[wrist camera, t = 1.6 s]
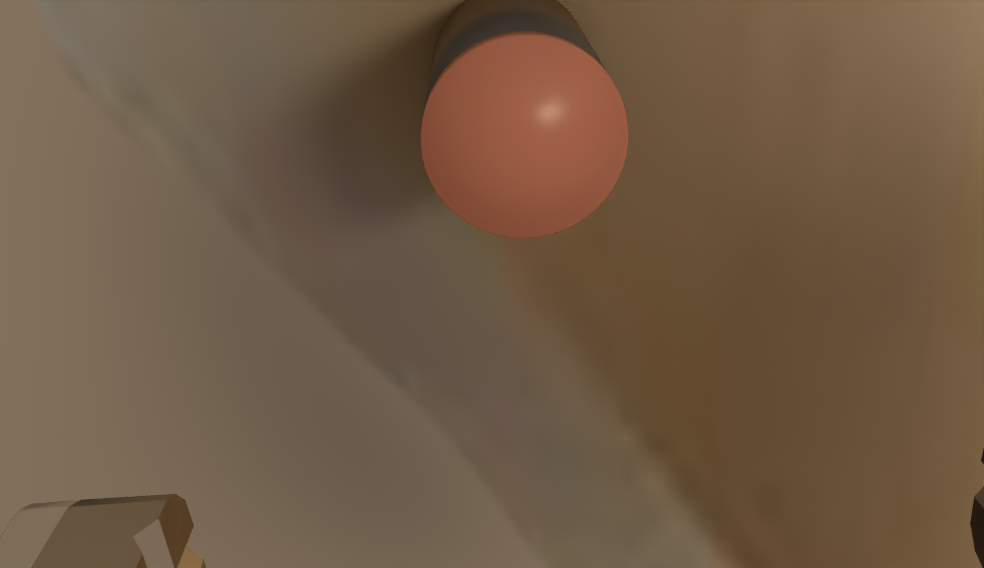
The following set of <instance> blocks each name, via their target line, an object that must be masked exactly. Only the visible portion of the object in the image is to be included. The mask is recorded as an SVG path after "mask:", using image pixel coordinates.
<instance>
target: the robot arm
mask: <svg viewBox="0 0 984 568" xmlns="http://www.w3.org/2000/svg"><path fill="white" fill-rule="evenodd" d="M981 461H982V463H983V464H984V449H983V454H982V459H981ZM970 524H971V530H972V536H973V542H974V548H975V552H976V554H977V556H978V558H979V561H980V563H981V565H982V568H984V487H983V488H982V489H981V490H980V491H979V492H978V493H977V494H976V495H975V496H974V501H973V508H972V515H971V522H970ZM193 526H194V525H193V522H192V519H191V516H190V513H189V510H188V507H187V504H186V501H185V500H184V499H182V498H181V497H179V496H178V495H176V494H169V495H155V496H154V495H153V496H137V497H120V498H103V499H87V500H80V501H62V502H49V503H36V504H31V505H28V506H26V507H25V508H22V509H20V510H19V511H18V512H17V513H16V515H15V516H14V518H13V519H12V521H11V522H10V524H9V525H8V526H7V528H6V529H5V531H4V532H3V534H2V535H1V537H0V568H206V567H205V563H204V560H203V559H202V558H201V557H199V556H198V555H197V554H196V553H194V552H193V551H192V550H191V549H189V548H188V547H187V546H186V544H187V542H188V539H189V537H190V534H191V532H192V529H193Z"/></svg>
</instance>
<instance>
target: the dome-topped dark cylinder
mask: <svg viewBox="0 0 984 568" xmlns="http://www.w3.org/2000/svg"><path fill="white" fill-rule="evenodd" d="M628 137H629V131H628V120H627V115H626V111H625V107H624V104H623V101H622V99H621V96H620V94H619V92H618V90H617V88H616V86H615V85H614V83H613V81H612V79H611V78H610V76H609V74H608V73H607V71H606V70H605V68H604V66H603V65H602V63H601V61H600V60H599V58H598V56H597V55H596V53H595V51H594V50H593V48H592V47H591V45H590V43H589V42H588V40H587V38H586V37H585V35H584V33H583V32H582V30H581V29H580V27H579V25H578V24H577V22H576V20H575V19H574V18H573V16H572V15H571V14H570V12H569V11H568V10H567V9H566V8H565V7H564V6H563V5H562V4H560V3H559V2H558V1H557V0H466V1H465V2H464V3H463V4H461V5H460V6H459V7H458V8H457V9H456V10H455V11H454V12H453V13H452V14H451V16H450V17H449V19H448V20H447V21H446V23H445V24H444V26H443V28H442V30H441V32H440V35H439V37H438V40H437V43H436V48H435V52H434V58H433V64H432V69H431V75H430V81H429V86H428V92H427V98H426V103H425V109H424V115H423V120H422V127H421V152H422V157H423V162H424V166H425V169H426V172H427V175H428V178H429V180H430V182H431V184H432V186H433V188H434V189H435V191H436V192H437V194H438V195H439V197H440V198H441V200H442V201H443V202H444V203H445V204H446V205H447V206H448V207H449V209H451V210H452V211H453V212H454V213H455V214H456V215H457V216H459V217H460V218H461V219H463V220H464V221H466V222H467V223H469V224H471V225H473V226H475V227H477V228H479V229H481V230H483V231H486V232H489V233H492V234H495V235H500V236H504V237H513V238H533V237H540V236H546V235H549V234H553V233H557V232H559V231H562V230H564V229H566V228H569V227H571V226H573V225H574V224H576V223H578V222H580V221H581V220H583V219H584V218H585V217H587V216H588V215H590V214H591V213H592V212H593V211H594V210H595V209H596V208H597V207H598V206H600V205H601V203H602V202H603V201H604V200H605V199H606V197H607V196H608V195H609V194H610V192H611V190H612V189H613V187H614V186H615V184H616V182H617V180H618V178H619V176H620V174H621V172H622V169H623V166H624V163H625V160H626V155H627V149H628Z"/></svg>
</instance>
